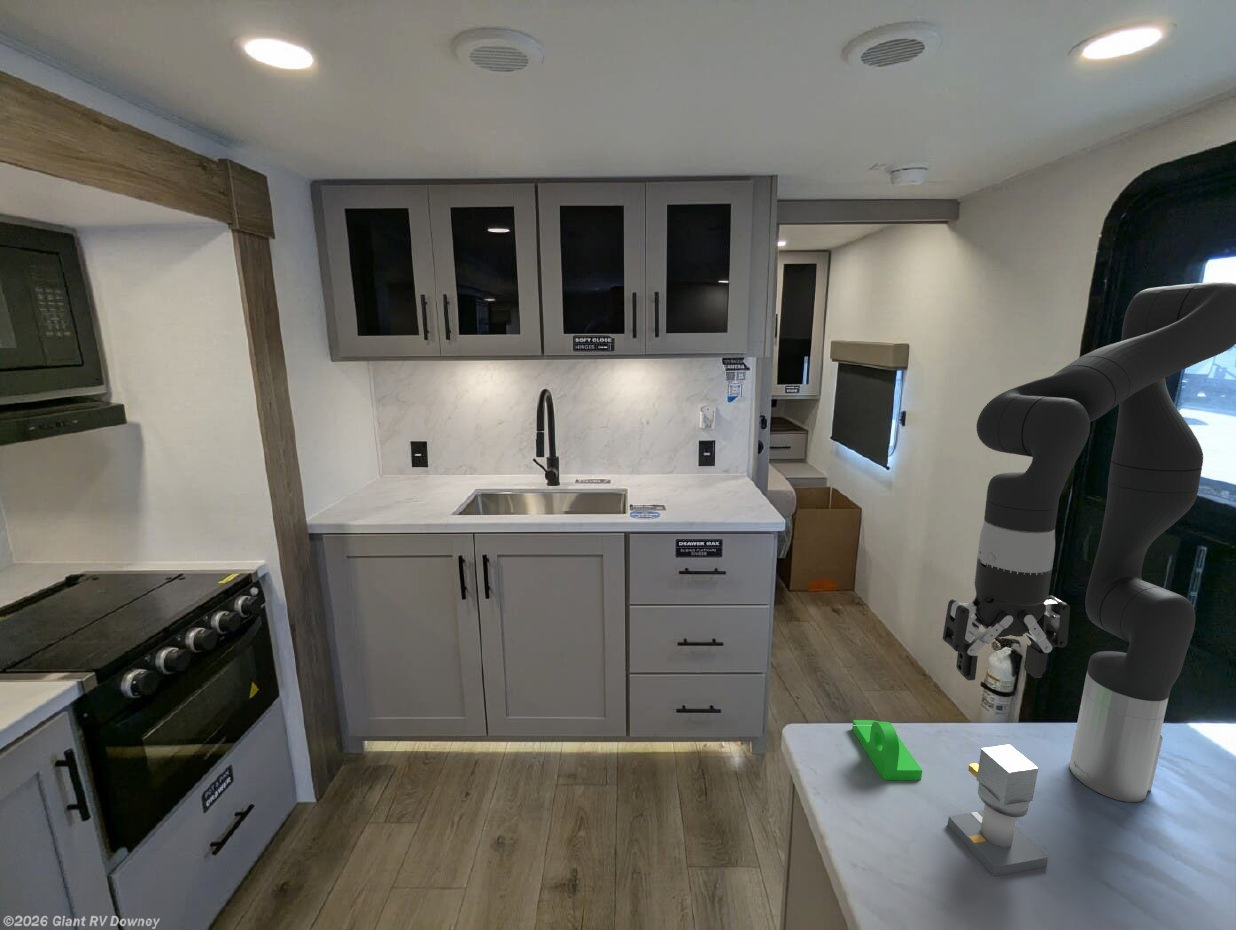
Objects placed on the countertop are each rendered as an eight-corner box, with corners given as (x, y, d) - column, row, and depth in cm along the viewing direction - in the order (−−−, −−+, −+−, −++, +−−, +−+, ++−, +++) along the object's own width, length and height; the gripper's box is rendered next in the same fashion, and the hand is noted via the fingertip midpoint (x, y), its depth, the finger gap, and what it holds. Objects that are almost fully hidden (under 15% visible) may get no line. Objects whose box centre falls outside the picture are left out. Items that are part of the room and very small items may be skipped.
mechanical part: (920, 781, 87) (926, 737, 85) (883, 780, 87) (888, 737, 85) (885, 729, 99) (889, 690, 97) (852, 729, 99) (856, 690, 97)
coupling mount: (995, 816, 80) (1002, 775, 78) (1046, 866, 72) (1054, 822, 71) (947, 824, 79) (953, 783, 77) (993, 876, 71) (1001, 831, 69)
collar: (988, 768, 79) (994, 729, 78) (1038, 813, 72) (1046, 770, 70) (954, 774, 78) (960, 733, 77) (1001, 820, 71) (1008, 776, 69)
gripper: (1048, 545, 71) (1032, 657, 74) (938, 549, 71) (928, 661, 74) (1098, 568, 64) (1078, 691, 67) (976, 572, 64) (962, 695, 67)
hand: (999, 675), depth 71 cm, fingers open, 8 cm apart
